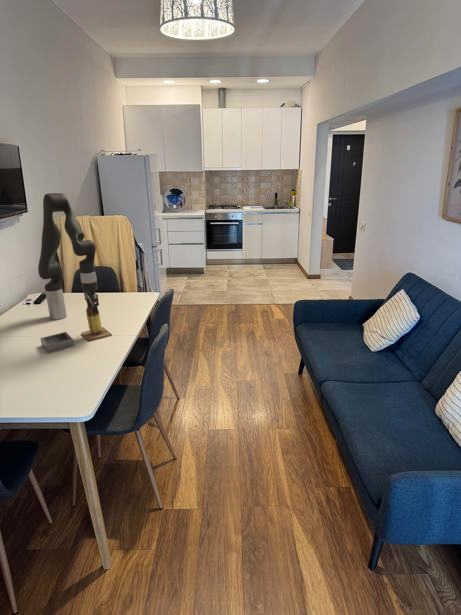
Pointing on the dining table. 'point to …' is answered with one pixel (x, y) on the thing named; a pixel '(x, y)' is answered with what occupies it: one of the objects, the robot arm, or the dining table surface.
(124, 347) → the dining table surface
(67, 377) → the dining table surface
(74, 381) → the dining table surface
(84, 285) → the robot arm
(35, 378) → the dining table surface
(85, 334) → the walnut board
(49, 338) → the grey shallow box
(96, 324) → the sauce bottle
